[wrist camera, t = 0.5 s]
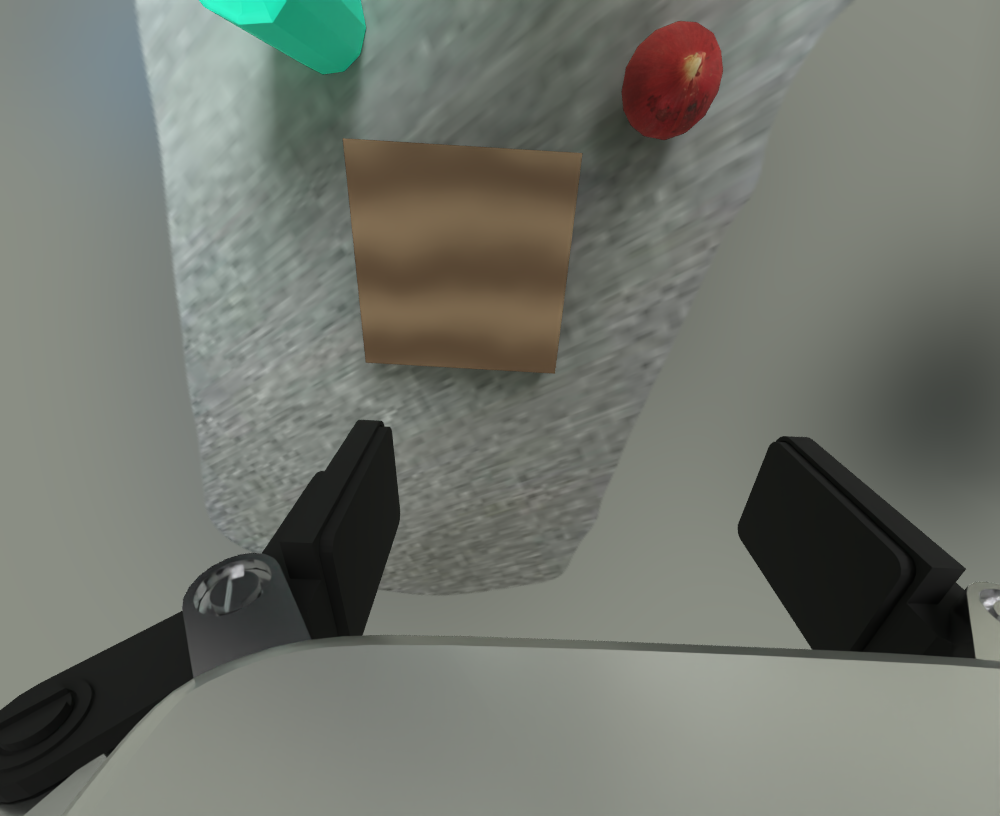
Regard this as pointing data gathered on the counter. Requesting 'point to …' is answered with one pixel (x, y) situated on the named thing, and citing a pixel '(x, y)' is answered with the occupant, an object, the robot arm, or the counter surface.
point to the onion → (672, 80)
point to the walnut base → (461, 252)
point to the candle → (301, 28)
